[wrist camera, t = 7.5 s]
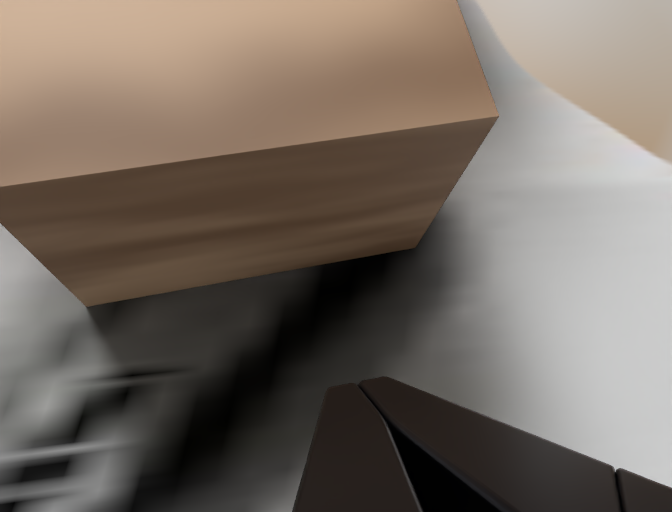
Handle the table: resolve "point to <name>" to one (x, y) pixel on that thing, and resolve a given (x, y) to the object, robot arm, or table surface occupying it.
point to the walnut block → (229, 134)
